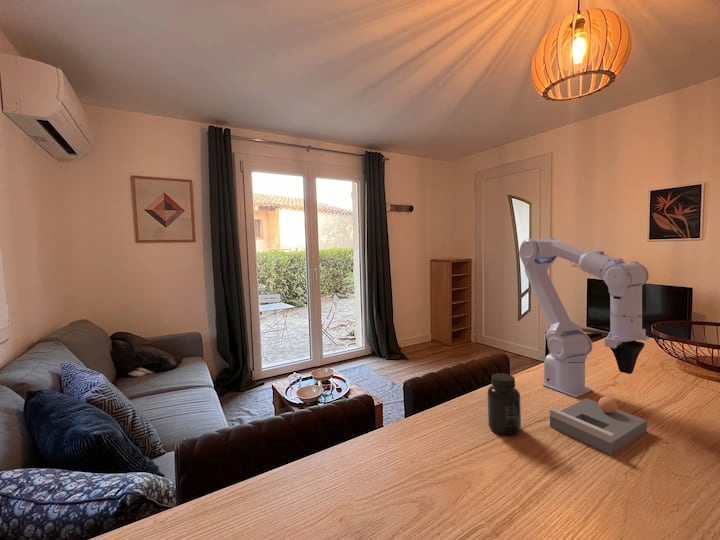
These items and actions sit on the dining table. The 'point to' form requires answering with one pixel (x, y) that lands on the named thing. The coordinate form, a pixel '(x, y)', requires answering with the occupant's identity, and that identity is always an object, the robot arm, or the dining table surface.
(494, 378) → the supplement bottle
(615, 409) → the ball
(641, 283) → the robot arm
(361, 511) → the dining table surface
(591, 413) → the hole deck
